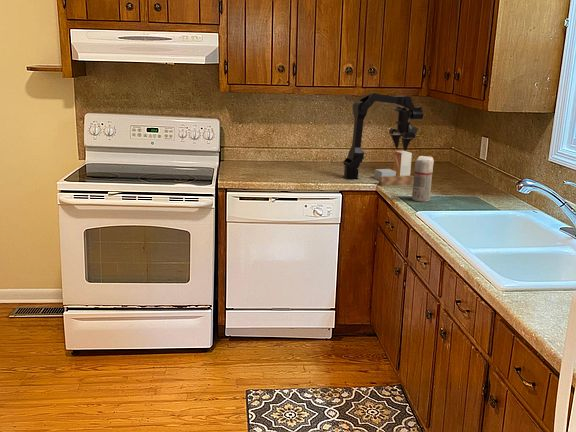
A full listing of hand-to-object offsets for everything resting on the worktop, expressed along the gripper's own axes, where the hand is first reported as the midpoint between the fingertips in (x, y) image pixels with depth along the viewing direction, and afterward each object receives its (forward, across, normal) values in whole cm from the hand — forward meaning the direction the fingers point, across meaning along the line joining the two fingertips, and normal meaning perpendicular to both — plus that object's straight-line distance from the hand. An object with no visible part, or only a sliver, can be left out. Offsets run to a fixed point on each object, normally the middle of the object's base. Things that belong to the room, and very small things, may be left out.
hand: (400, 149), depth 331 cm
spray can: (+15, -52, +16) cm, 56 cm away
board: (+15, -18, +11) cm, 26 cm away
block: (+15, -6, +11) cm, 20 cm away
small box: (+15, +2, -3) cm, 15 cm away
